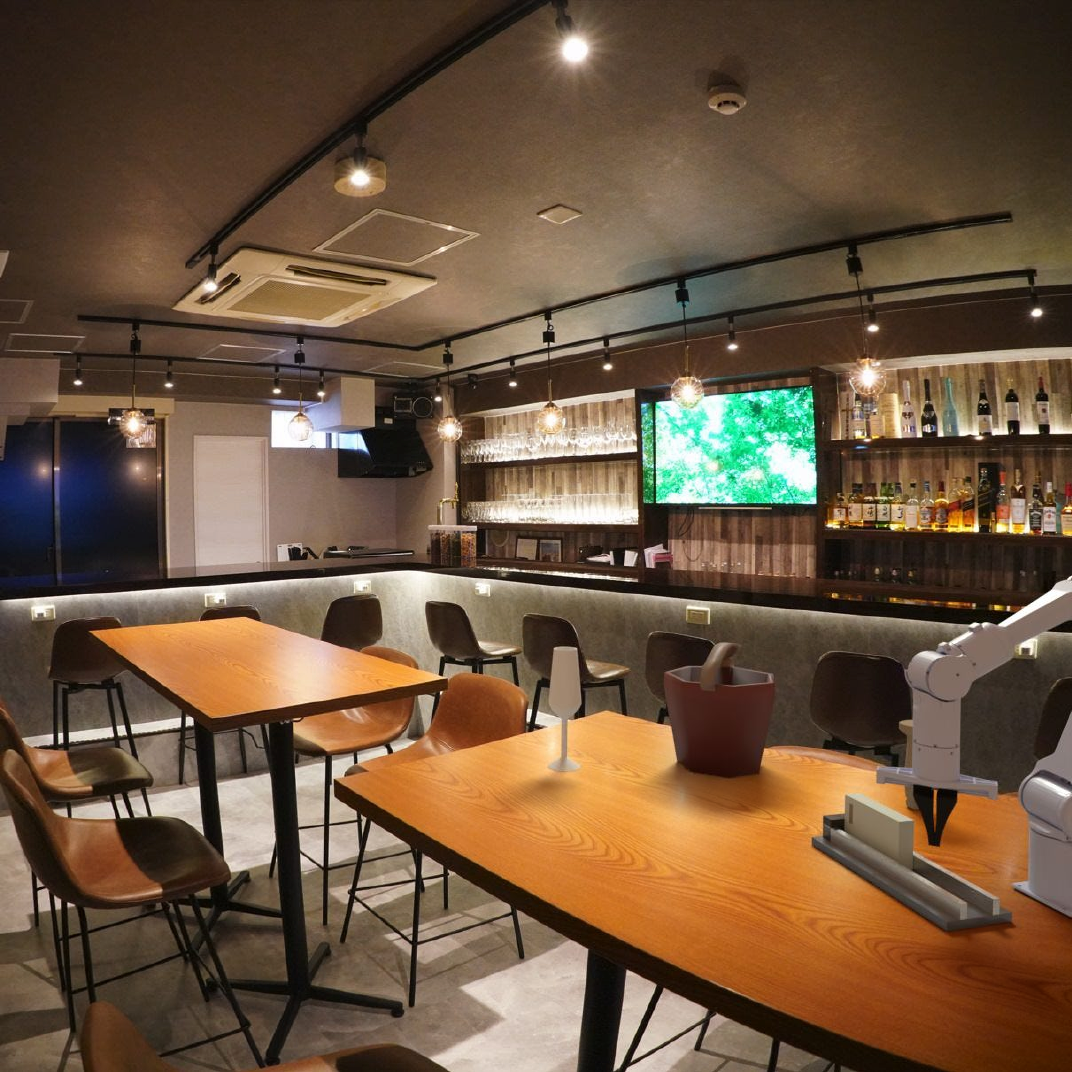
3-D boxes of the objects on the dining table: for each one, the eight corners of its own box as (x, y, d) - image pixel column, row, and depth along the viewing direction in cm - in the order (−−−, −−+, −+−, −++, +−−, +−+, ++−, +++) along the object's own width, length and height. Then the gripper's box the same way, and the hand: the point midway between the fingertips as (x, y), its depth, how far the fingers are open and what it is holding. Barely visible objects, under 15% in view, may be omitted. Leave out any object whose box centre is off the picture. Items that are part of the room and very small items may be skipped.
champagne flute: (543, 769, 166) (545, 650, 165) (552, 760, 172) (554, 645, 172) (576, 772, 164) (577, 652, 163) (584, 763, 170) (585, 647, 170)
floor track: (1011, 921, 105) (1012, 887, 105) (946, 931, 102) (947, 896, 102) (866, 838, 132) (866, 811, 132) (811, 844, 129) (812, 816, 129)
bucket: (702, 743, 187) (704, 633, 186) (798, 762, 173) (800, 643, 172) (644, 768, 168) (646, 645, 167) (746, 791, 154) (749, 657, 153)
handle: (940, 810, 145) (942, 724, 145) (913, 814, 143) (915, 728, 142) (918, 801, 150) (920, 718, 149) (891, 805, 147) (893, 721, 147)
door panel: (913, 869, 117) (914, 820, 117) (897, 871, 117) (898, 821, 116) (858, 837, 129) (859, 792, 129) (843, 839, 128) (844, 794, 128)
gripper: (997, 742, 111) (995, 843, 111) (880, 729, 117) (878, 824, 118) (999, 755, 105) (997, 862, 105) (875, 741, 111) (873, 841, 112)
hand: (934, 843), depth 111 cm, fingers closed
